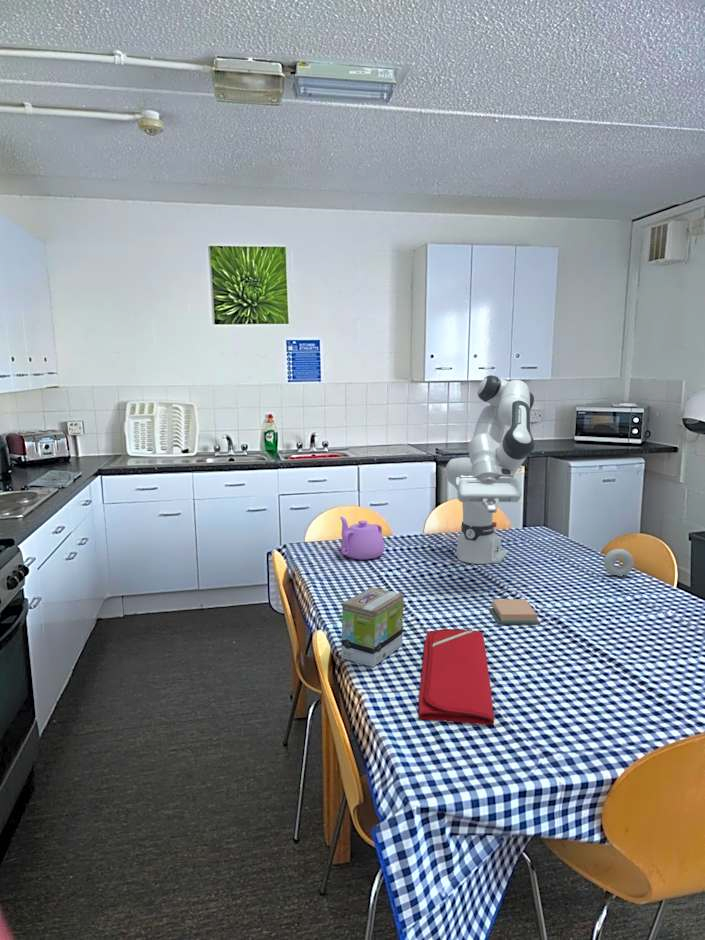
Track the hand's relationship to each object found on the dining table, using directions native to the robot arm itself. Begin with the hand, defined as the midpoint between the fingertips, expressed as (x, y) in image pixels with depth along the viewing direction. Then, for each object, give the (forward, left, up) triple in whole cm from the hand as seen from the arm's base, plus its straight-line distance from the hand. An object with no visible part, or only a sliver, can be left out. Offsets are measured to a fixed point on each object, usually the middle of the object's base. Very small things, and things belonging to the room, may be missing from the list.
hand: (491, 511), depth 199 cm
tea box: (+57, -6, -28) cm, 64 cm away
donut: (-44, +29, -28) cm, 59 cm away
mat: (+13, +14, -27) cm, 33 cm away
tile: (+8, +10, -25) cm, 29 cm away
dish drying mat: (+56, +17, -28) cm, 65 cm away
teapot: (-11, -60, -28) cm, 67 cm away
